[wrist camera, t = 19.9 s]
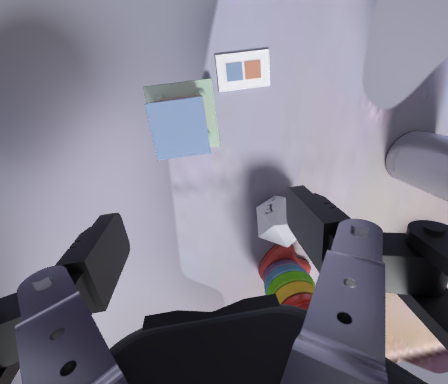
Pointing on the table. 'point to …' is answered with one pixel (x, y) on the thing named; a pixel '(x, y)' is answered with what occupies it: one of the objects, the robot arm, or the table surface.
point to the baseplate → (189, 89)
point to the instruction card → (243, 70)
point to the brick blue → (178, 127)
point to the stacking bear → (287, 277)
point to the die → (274, 222)
